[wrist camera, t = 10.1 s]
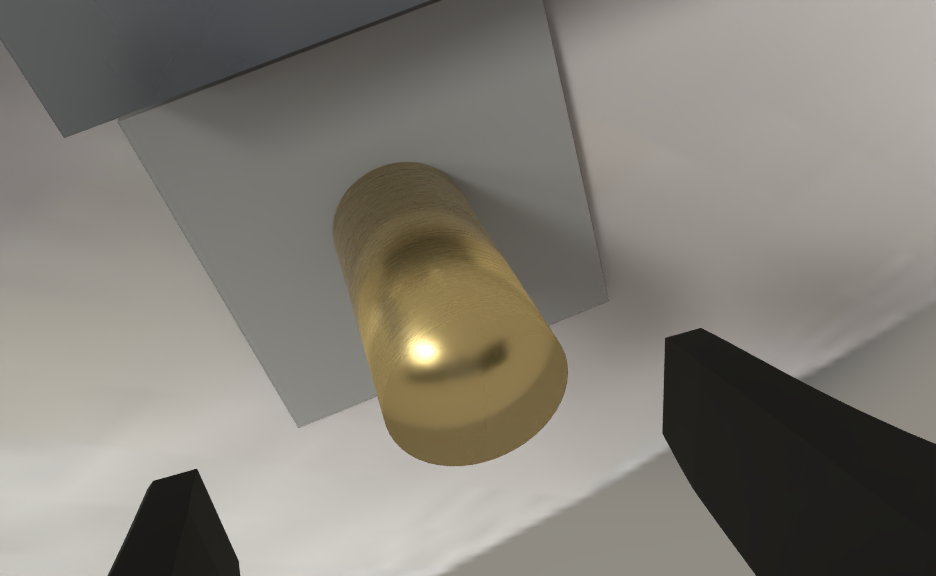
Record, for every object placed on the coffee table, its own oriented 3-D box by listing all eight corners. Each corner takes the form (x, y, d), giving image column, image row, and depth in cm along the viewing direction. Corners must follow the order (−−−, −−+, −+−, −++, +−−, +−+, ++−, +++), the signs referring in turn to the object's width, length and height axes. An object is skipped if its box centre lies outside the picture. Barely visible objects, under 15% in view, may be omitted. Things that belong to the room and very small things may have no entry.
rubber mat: (297, 419, 23) (298, 428, 23) (119, 116, 17) (117, 121, 17) (603, 293, 24) (608, 300, 23) (529, -38, 18) (535, -35, 18)
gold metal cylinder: (479, 261, 21) (577, 428, 16) (354, 302, 21) (409, 489, 15) (452, 144, 19) (554, 286, 14) (314, 186, 19) (359, 352, 13)
